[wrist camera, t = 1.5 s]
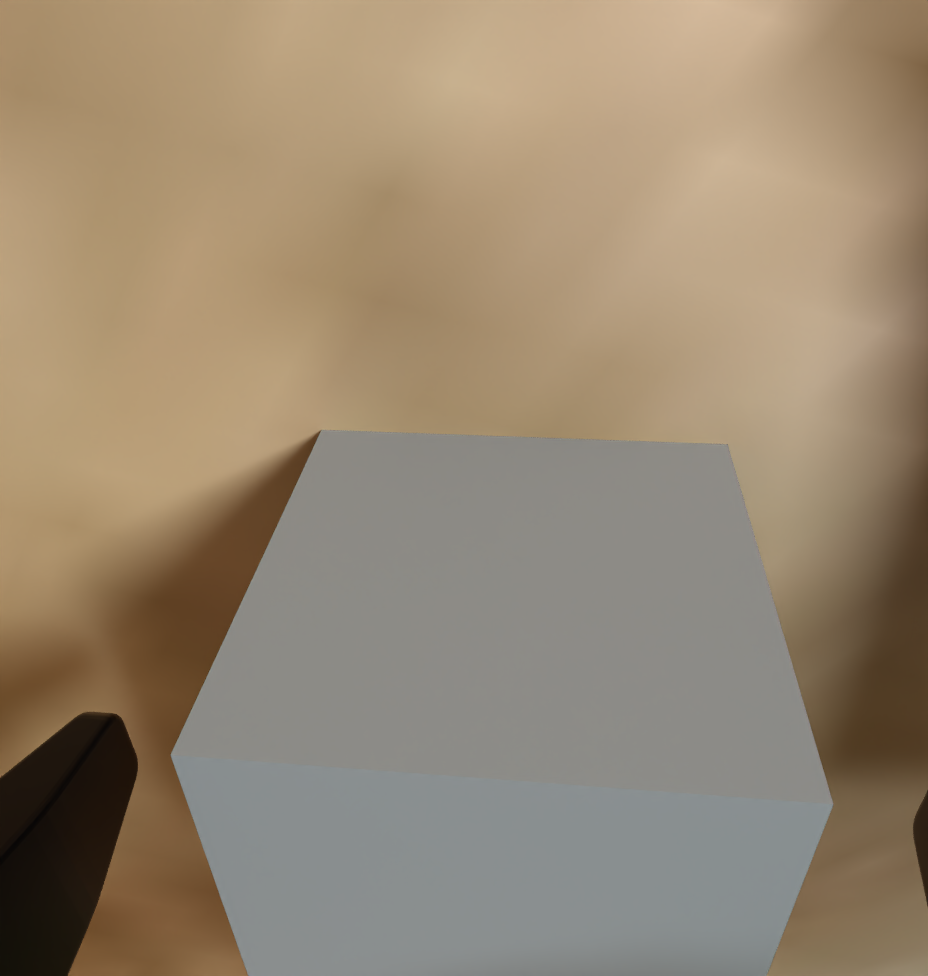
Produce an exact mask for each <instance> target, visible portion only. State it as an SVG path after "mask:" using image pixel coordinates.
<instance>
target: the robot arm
mask: <svg viewBox="0 0 928 976" xmlns="http://www.w3.org/2000/svg"><path fill="white" fill-rule="evenodd" d="M137 771H138V760H137V755H136V753H135V750H134V748H133V745H132V742H131V740H130V737H129V735H128V732H127V730H126V727H125V724H124V722H123V720H122V718H121V717H120V716H118V715H117V714H113V713H101V712H85V713H82V714H80V715H78V716H77V717H75V718H74V719H73V720H71V721H70V722H69V723H68V724H66V725H65V726H64V727H63V728H62V729H60V730H59V731H58V732H57V733H55V734H54V735H53V736H52V737H50V738H49V739H48V740H47V741H45V742H44V743H43V744H42V745H40V746H39V747H38V748H37V749H35V750H34V751H33V752H32V753H30V754H29V755H28V756H27V757H25V758H24V759H23V760H22V761H20V762H19V763H18V764H17V765H16V766H14V767H13V768H12V769H11V770H9V771H8V772H7V773H6V774H4V775H3V776H2V777H1V778H0V976H68V973H69V971H70V969H71V966H72V964H73V962H74V959H75V957H76V955H77V952H78V950H79V947H80V945H81V943H82V940H83V938H84V936H85V933H86V931H87V929H88V926H89V923H90V921H91V918H92V916H93V913H94V911H95V908H96V906H97V903H98V900H99V897H100V894H101V891H102V888H103V885H104V881H105V878H106V875H107V872H108V868H109V865H110V862H111V859H112V855H113V852H114V849H115V846H116V842H117V839H118V836H119V833H120V829H121V826H122V823H123V820H124V816H125V813H126V810H127V807H128V803H129V800H130V797H131V793H132V790H133V787H134V784H135V780H136V777H137ZM913 836H914V842H915V847H916V852H917V857H918V862H919V867H920V872H921V877H922V881H923V886H924V891H925V896H926V901H927V906H928V791H927V793H926V795H925V797H924V799H923V801H922V803H921V805H920V807H919V809H918V811H917V813H916V815H915V818H914V823H913Z"/></svg>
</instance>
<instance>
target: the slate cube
mask: <svg viewBox="0 0 928 976" xmlns="http://www.w3.org/2000/svg"><path fill="white" fill-rule="evenodd" d="M171 758H172V761H173V764H174V767H175V769H176V772H177V775H178V778H179V781H180V784H181V786H182V789H183V792H184V795H185V798H186V801H187V803H188V806H189V809H190V812H191V815H192V818H193V820H194V823H195V826H196V829H197V832H198V835H199V838H200V840H201V843H202V846H203V849H204V852H205V855H206V857H207V860H208V863H209V866H210V869H211V872H212V874H213V877H214V880H215V883H216V886H217V889H218V891H219V894H220V897H221V900H222V903H223V906H224V908H225V911H226V914H227V917H228V920H229V923H230V925H231V928H232V931H233V934H234V937H235V940H236V943H237V945H238V948H239V951H240V954H241V957H242V960H243V962H244V965H245V968H246V971H247V974H248V976H767V973H768V971H769V968H770V966H771V963H772V960H773V958H774V955H775V953H776V950H777V948H778V945H779V943H780V940H781V937H782V935H783V932H784V930H785V927H786V925H787V922H788V919H789V917H790V914H791V912H792V909H793V907H794V904H795V902H796V899H797V896H798V894H799V891H800V889H801V886H802V884H803V881H804V879H805V876H806V873H807V871H808V868H809V866H810V863H811V861H812V858H813V855H814V853H815V850H816V848H817V845H818V843H819V840H820V838H821V835H822V832H823V830H824V827H825V825H826V822H827V820H828V817H829V815H830V812H831V809H832V807H833V801H832V798H831V794H830V791H829V787H828V784H827V781H826V777H825V774H824V770H823V767H822V764H821V760H820V757H819V754H818V750H817V747H816V743H815V740H814V737H813V733H812V730H811V726H810V723H809V720H808V716H807V713H806V709H805V706H804V703H803V699H802V696H801V692H800V689H799V686H798V682H797V679H796V675H795V672H794V669H793V665H792V662H791V658H790V655H789V652H788V648H787V645H786V641H785V638H784V635H783V631H782V628H781V624H780V621H779V618H778V614H777V611H776V608H775V604H774V601H773V597H772V594H771V591H770V587H769V584H768V580H767V577H766V574H765V570H764V567H763V563H762V560H761V557H760V553H759V550H758V546H757V543H756V540H755V536H754V533H753V529H752V526H751V523H750V519H749V516H748V512H747V509H746V506H745V502H744V499H743V495H742V492H741V489H740V485H739V482H738V478H737V475H736V472H735V468H734V465H733V462H732V458H731V455H730V451H729V448H728V445H727V444H702V443H674V442H646V441H618V440H590V439H562V438H534V437H506V436H479V435H451V434H423V433H395V432H367V431H339V430H321V432H320V434H319V436H318V439H317V441H316V443H315V445H314V447H313V449H312V451H311V454H310V456H309V458H308V460H307V462H306V464H305V467H304V469H303V471H302V473H301V475H300V477H299V479H298V482H297V484H296V486H295V488H294V490H293V492H292V495H291V497H290V499H289V501H288V503H287V505H286V507H285V510H284V512H283V514H282V516H281V518H280V520H279V523H278V525H277V527H276V529H275V531H274V533H273V535H272V538H271V540H270V542H269V544H268V546H267V548H266V550H265V553H264V555H263V557H262V559H261V561H260V563H259V566H258V568H257V570H256V572H255V574H254V576H253V578H252V581H251V583H250V585H249V587H248V589H247V591H246V594H245V596H244V598H243V600H242V602H241V604H240V606H239V609H238V611H237V613H236V615H235V617H234V619H233V622H232V624H231V626H230V628H229V630H228V632H227V634H226V637H225V639H224V641H223V643H222V645H221V647H220V649H219V652H218V654H217V656H216V658H215V660H214V662H213V665H212V667H211V669H210V671H209V673H208V675H207V677H206V680H205V682H204V684H203V686H202V688H201V690H200V693H199V695H198V697H197V699H196V701H195V703H194V705H193V708H192V710H191V712H190V714H189V716H188V718H187V721H186V723H185V725H184V727H183V729H182V731H181V733H180V736H179V738H178V740H177V742H176V744H175V746H174V748H173V751H172V753H171Z"/></svg>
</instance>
